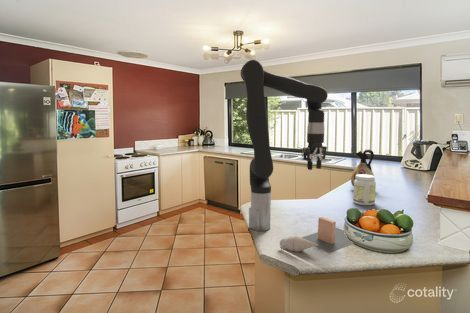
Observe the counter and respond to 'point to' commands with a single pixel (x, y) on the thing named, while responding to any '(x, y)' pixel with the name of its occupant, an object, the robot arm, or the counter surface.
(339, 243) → the mat
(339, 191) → the counter surface
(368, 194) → the supplement tub
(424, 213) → the counter surface
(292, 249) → the ice cream cone
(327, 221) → the tile
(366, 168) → the ceramic jug
